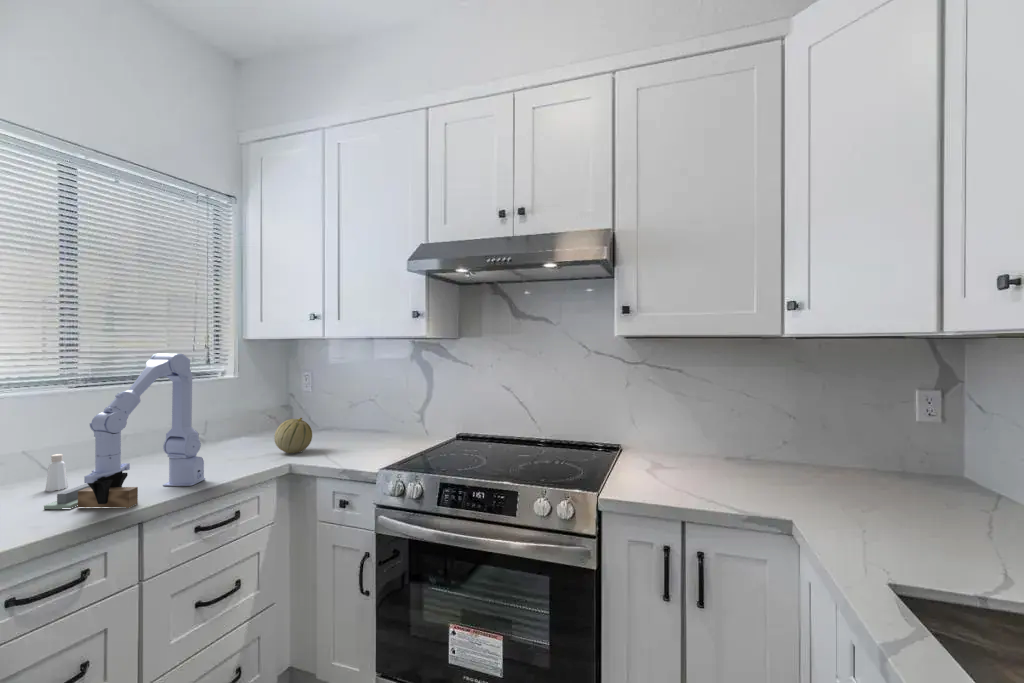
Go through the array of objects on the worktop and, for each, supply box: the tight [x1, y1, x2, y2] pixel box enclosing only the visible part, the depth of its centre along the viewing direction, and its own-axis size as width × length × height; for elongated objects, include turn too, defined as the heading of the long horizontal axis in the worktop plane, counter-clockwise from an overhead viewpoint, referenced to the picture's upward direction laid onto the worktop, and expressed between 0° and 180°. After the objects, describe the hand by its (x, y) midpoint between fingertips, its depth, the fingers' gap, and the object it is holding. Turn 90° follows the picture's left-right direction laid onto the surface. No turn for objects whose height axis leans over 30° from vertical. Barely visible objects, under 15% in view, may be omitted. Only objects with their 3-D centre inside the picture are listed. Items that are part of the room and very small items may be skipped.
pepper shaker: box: [44, 453, 69, 492], centre depth 159 cm, size 5×5×11 cm
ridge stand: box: [43, 483, 91, 510], centre depth 149 cm, size 7×20×4 cm, turn 3°
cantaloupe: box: [273, 417, 313, 454], centre depth 211 cm, size 15×15×15 cm
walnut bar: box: [77, 486, 139, 509], centre depth 142 cm, size 14×4×5 cm, turn 93°
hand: (108, 501), depth 142 cm, fingers closed on walnut bar, 3 cm apart
